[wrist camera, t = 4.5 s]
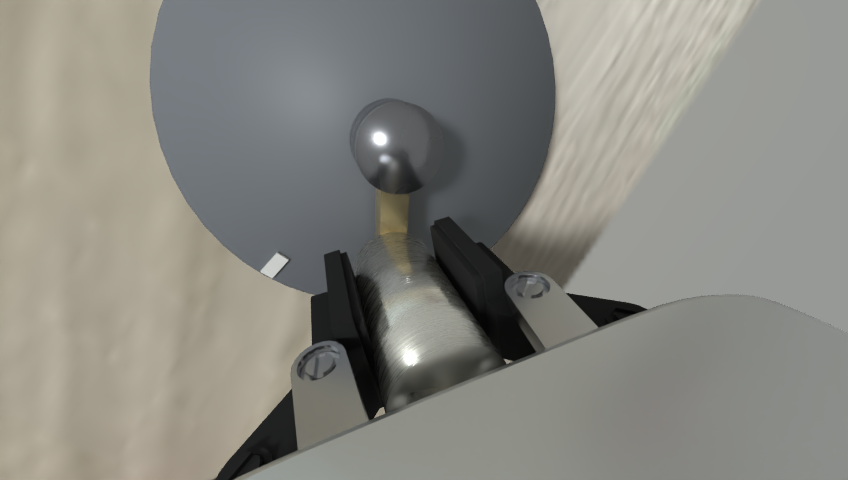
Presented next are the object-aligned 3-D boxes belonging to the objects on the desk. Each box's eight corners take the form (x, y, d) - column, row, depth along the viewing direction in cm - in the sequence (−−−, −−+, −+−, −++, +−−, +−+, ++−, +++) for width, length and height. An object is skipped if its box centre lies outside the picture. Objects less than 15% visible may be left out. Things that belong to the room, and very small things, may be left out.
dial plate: (387, 326, 18) (393, 348, 16) (71, 141, 11) (36, 152, 9) (583, 126, 16) (609, 131, 15) (364, -249, 9) (375, -307, 8)
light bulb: (344, 95, 11) (394, 127, 5) (434, 100, 12) (569, 132, 6) (350, 308, 14) (384, 478, 8) (418, 299, 15) (492, 448, 9)
